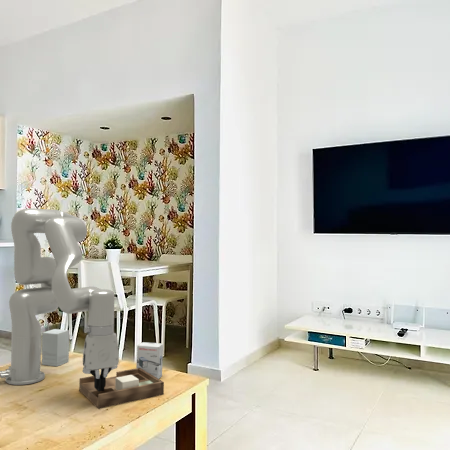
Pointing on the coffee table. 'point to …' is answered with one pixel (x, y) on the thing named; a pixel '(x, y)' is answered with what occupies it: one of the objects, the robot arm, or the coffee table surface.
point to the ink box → (150, 358)
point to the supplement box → (55, 347)
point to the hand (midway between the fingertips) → (99, 389)
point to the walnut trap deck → (111, 396)
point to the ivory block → (126, 382)
